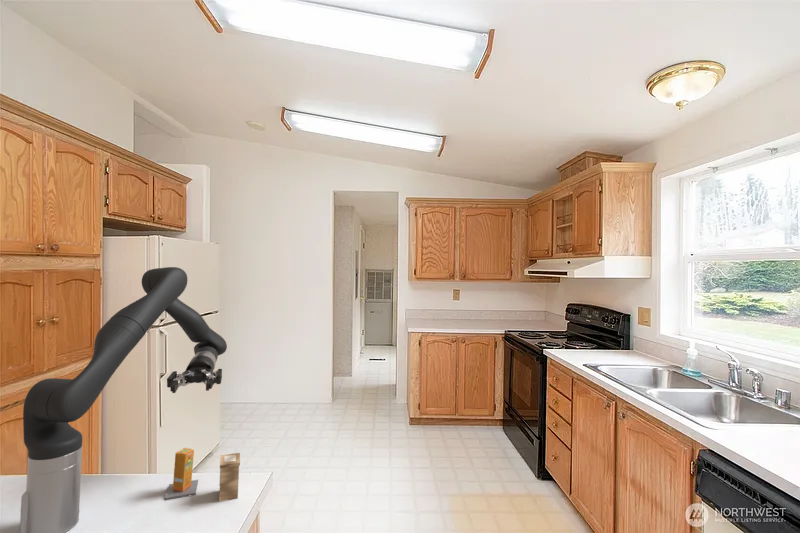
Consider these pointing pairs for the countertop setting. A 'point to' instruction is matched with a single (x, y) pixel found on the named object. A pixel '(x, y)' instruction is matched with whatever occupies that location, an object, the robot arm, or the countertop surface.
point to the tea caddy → (229, 476)
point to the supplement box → (183, 469)
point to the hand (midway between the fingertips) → (190, 388)
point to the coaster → (177, 494)
